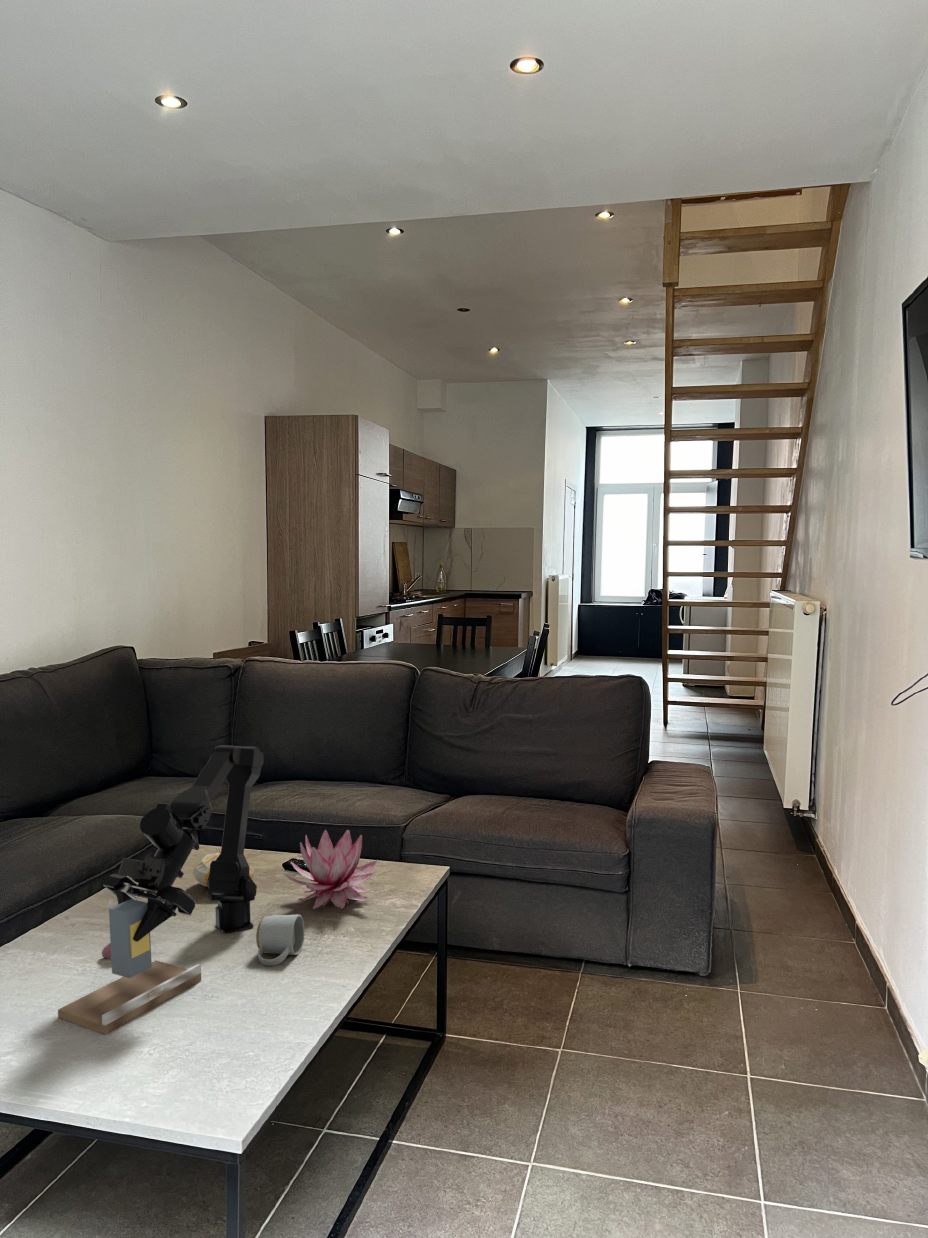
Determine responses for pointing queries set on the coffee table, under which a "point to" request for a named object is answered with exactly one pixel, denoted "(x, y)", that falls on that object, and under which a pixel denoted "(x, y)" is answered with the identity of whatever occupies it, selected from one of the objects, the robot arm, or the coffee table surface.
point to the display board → (129, 997)
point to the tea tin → (128, 939)
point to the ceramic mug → (279, 937)
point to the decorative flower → (334, 870)
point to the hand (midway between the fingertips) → (124, 938)
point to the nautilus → (203, 868)
